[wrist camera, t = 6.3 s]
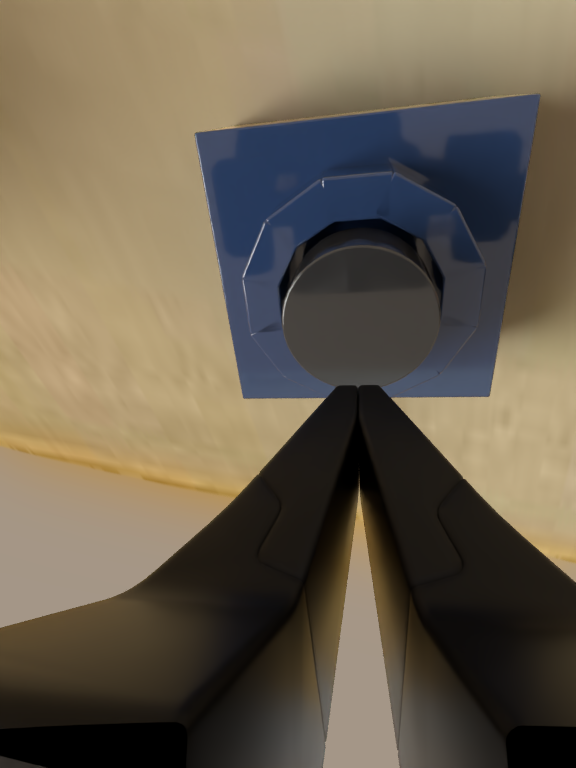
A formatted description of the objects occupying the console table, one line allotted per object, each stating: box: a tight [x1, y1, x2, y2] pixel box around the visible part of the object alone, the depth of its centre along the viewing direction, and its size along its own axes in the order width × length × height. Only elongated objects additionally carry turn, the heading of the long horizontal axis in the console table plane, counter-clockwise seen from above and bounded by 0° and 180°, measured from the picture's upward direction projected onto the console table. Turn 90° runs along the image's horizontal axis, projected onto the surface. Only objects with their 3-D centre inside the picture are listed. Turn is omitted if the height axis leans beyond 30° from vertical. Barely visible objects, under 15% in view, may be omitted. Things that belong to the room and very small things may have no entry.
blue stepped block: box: [195, 93, 541, 399], centre depth 17 cm, size 10×10×7 cm
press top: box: [282, 227, 441, 387], centre depth 13 cm, size 4×4×2 cm
